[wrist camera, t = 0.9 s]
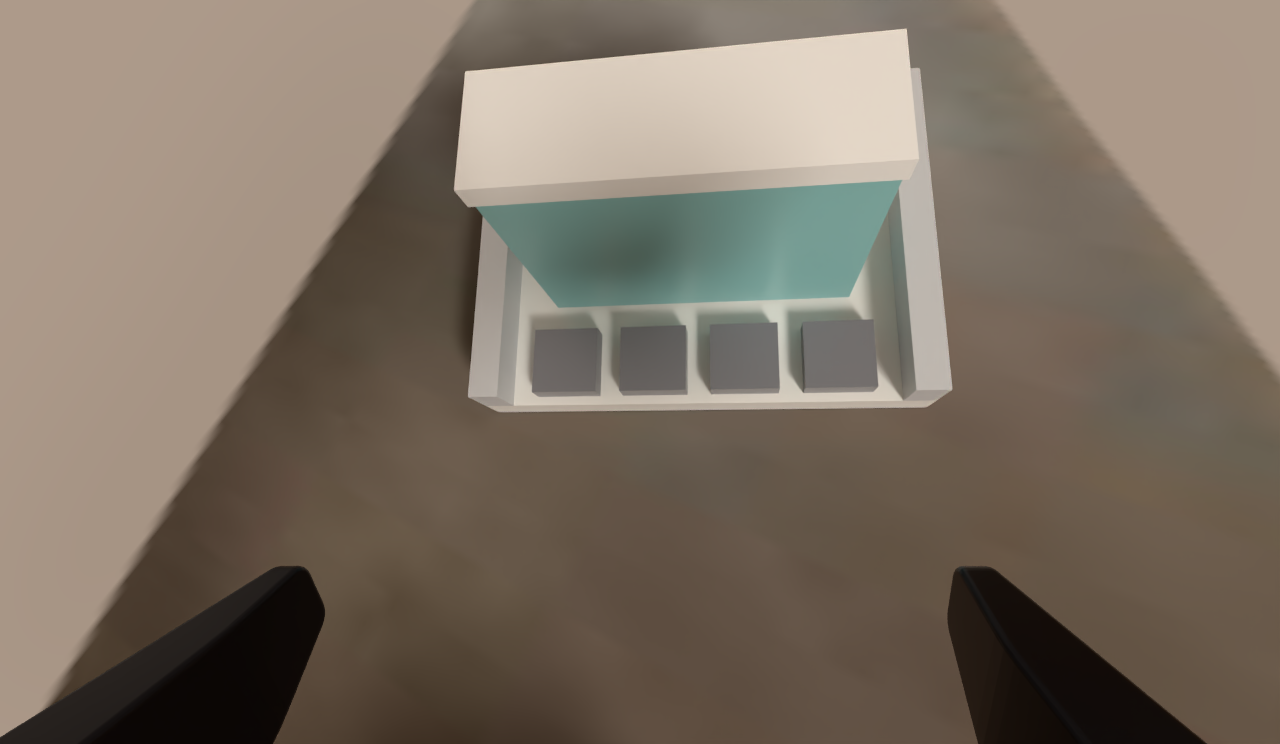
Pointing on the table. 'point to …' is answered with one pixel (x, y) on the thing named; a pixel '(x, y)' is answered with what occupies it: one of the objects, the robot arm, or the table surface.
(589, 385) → the white slotted tray
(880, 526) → the table surface
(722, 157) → the teal and cream panel
